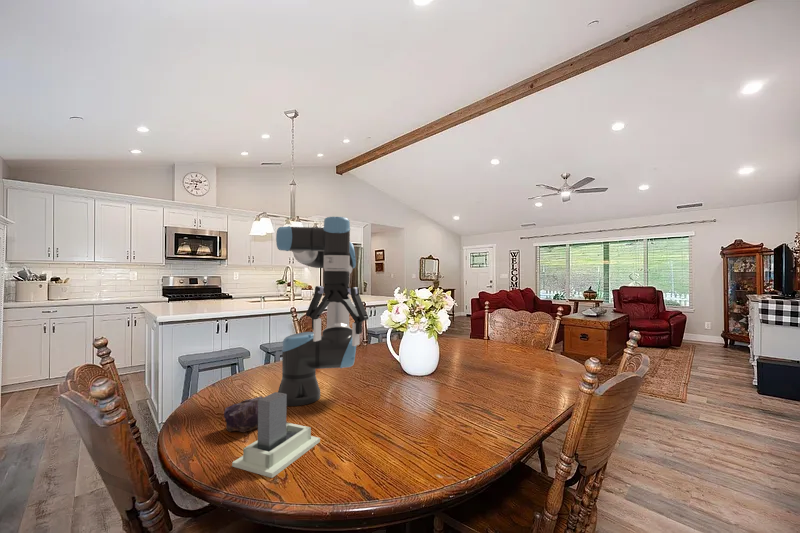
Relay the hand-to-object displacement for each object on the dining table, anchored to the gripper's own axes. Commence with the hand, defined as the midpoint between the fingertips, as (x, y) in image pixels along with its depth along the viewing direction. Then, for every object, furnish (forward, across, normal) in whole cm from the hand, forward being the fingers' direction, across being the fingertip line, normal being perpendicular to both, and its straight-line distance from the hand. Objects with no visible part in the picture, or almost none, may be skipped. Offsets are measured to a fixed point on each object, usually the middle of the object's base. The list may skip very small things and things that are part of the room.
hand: (336, 342), depth 102 cm
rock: (+26, -23, -11) cm, 36 cm away
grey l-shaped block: (+24, -5, -17) cm, 30 cm away
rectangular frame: (+25, -5, -17) cm, 31 cm away
